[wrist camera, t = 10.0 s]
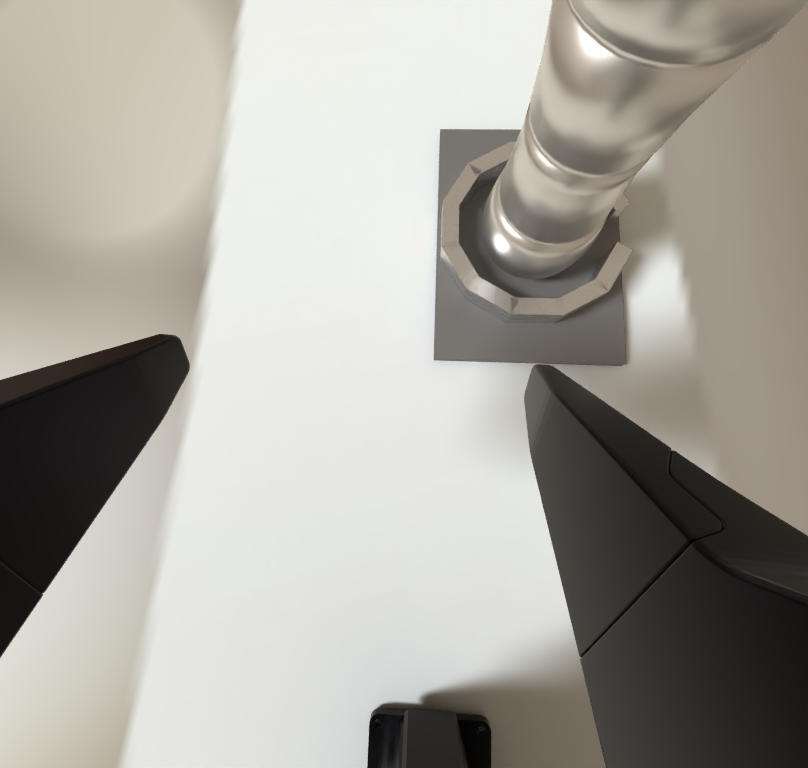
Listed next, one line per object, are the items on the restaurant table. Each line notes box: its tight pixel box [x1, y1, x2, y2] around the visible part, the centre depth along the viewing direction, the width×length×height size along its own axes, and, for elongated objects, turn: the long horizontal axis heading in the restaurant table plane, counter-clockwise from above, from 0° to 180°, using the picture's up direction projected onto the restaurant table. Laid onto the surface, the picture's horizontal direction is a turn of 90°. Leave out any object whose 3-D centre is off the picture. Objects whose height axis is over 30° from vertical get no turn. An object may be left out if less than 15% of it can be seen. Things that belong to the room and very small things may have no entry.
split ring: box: [440, 142, 633, 324], centre depth 22 cm, size 11×11×2 cm
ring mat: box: [434, 129, 626, 366], centre depth 23 cm, size 16×12×1 cm
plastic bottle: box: [483, 0, 808, 279], centre depth 13 cm, size 6×7×20 cm
